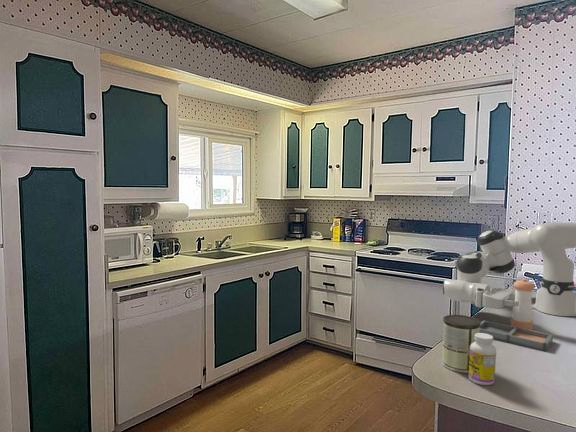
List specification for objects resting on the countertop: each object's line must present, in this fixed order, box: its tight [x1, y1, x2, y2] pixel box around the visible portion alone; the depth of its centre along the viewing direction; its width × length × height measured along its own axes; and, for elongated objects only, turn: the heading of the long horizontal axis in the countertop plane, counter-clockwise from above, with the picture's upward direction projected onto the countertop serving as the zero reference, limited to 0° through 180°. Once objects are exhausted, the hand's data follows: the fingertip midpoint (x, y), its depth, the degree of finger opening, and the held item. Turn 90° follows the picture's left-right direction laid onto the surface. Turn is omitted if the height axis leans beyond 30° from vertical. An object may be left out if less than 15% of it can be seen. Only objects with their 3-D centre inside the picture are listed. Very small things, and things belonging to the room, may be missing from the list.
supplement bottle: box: [467, 333, 497, 386], centre depth 118 cm, size 7×7×13 cm
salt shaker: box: [510, 278, 535, 330], centre depth 163 cm, size 7×7×19 cm
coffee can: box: [441, 314, 482, 374], centre depth 128 cm, size 10×10×14 cm
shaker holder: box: [480, 319, 554, 352], centre depth 153 cm, size 12×23×2 cm, turn 50°
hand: (521, 301), depth 163 cm, fingers open, 8 cm apart
